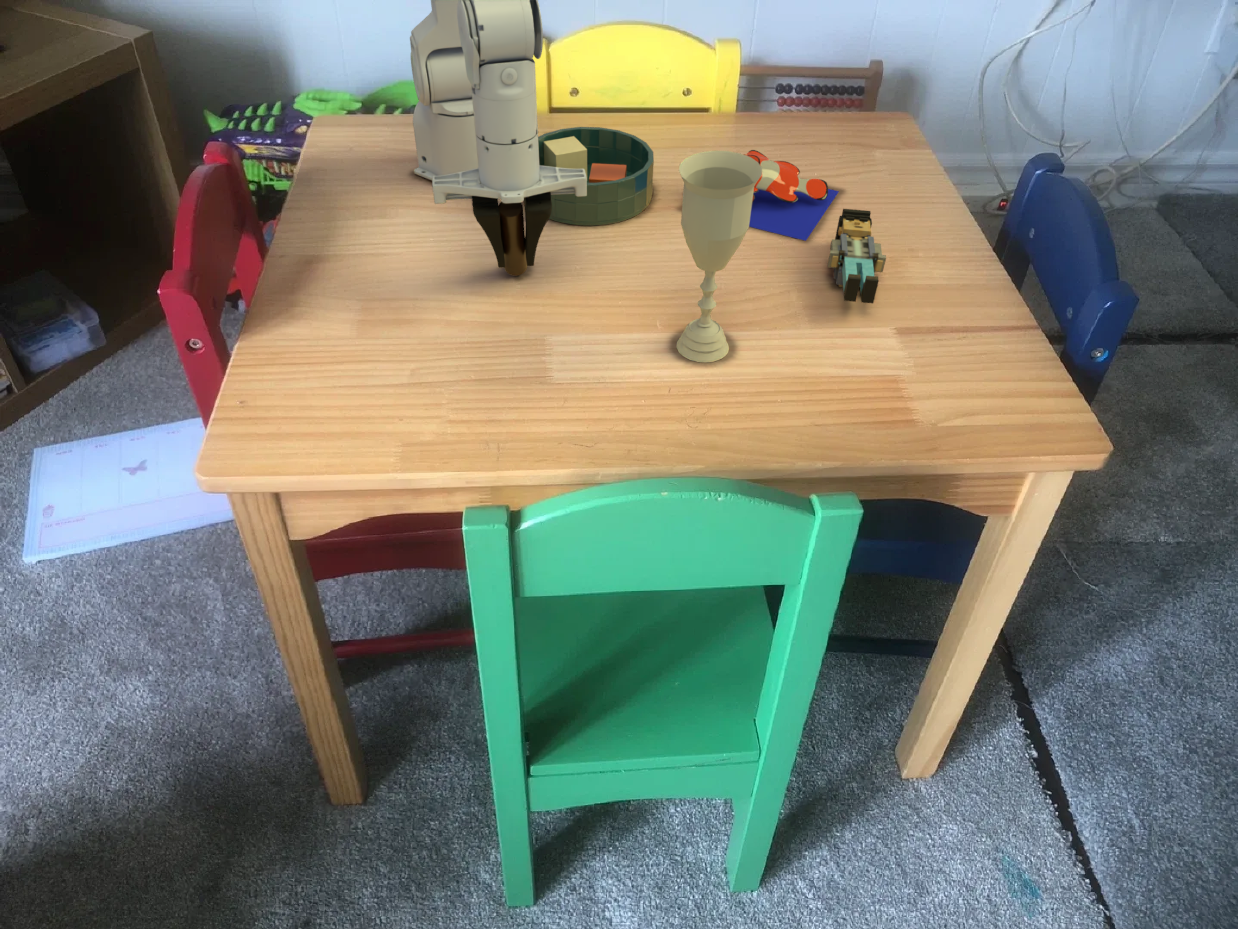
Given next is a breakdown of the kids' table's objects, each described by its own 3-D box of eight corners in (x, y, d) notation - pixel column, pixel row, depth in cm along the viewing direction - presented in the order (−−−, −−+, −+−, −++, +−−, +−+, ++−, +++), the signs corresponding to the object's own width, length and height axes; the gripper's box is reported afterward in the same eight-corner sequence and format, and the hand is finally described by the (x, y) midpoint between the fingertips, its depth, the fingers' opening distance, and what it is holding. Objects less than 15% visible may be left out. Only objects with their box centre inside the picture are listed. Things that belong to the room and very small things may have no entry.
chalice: (716, 378, 85) (737, 198, 72) (652, 353, 87) (662, 175, 75) (751, 339, 89) (776, 163, 77) (690, 316, 92) (705, 143, 79)
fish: (708, 160, 105) (734, 132, 111) (704, 198, 108) (730, 169, 114) (816, 185, 101) (838, 155, 107) (809, 224, 104) (830, 192, 110)
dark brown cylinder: (504, 276, 96) (498, 217, 88) (504, 258, 97) (497, 198, 89) (527, 275, 96) (523, 216, 88) (526, 257, 97) (522, 197, 89)
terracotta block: (592, 194, 109) (592, 162, 106) (625, 196, 109) (626, 164, 106) (588, 211, 106) (588, 178, 103) (623, 213, 106) (624, 180, 103)
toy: (834, 277, 89) (830, 203, 100) (826, 315, 92) (823, 240, 103) (893, 282, 89) (883, 208, 99) (883, 321, 92) (874, 245, 102)
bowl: (498, 198, 109) (495, 158, 105) (577, 154, 118) (577, 116, 114) (600, 239, 102) (600, 198, 99) (676, 189, 111) (678, 149, 108)
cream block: (544, 172, 113) (543, 141, 110) (574, 167, 114) (574, 135, 111) (556, 186, 110) (555, 154, 107) (587, 180, 111) (587, 149, 109)
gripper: (426, 154, 80) (443, 287, 89) (590, 146, 82) (591, 278, 91) (426, 120, 85) (442, 250, 94) (581, 114, 87) (582, 242, 96)
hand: (515, 261), depth 93 cm, fingers closed on dark brown cylinder, 2 cm apart
